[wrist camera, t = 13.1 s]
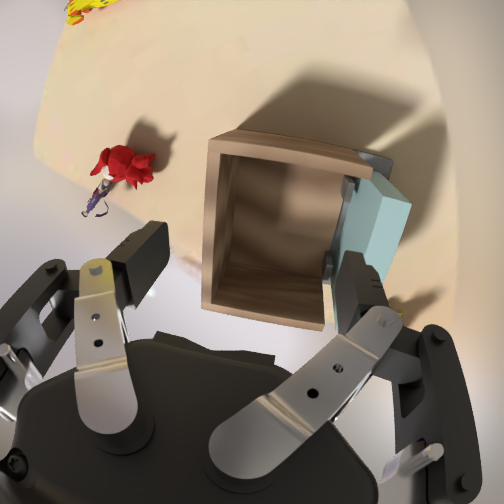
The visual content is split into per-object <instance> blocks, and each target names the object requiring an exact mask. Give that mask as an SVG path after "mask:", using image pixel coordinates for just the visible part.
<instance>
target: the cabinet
mask: <svg viewBox="0 0 504 504" xmlns="http://www.w3.org/2000/svg"><path fill="white" fill-rule="evenodd" d="M392 164H393V161H392V160H390V159H387V158H383V157H380V156H376V155H372V154H369V153H365V152H361V151H357V150H353V149H348V148H344V147H340V146H335V145H330V144H326V143H321V142H316V141H311V140H305V139H300V138H294V137H288V136H282V135H276V134H269V133H262V132H255V131H247V130H238V129H235V130H232V131H229V132H226V133H224V134H221V135H219V136H216V137H214V138H211V139H209V143H208V156H207V169H206V185H205V202H204V222H203V248H202V291H201V309H204V310H209V311H213V312H218V313H223V314H227V315H232V316H237V317H242V318H247V319H252V320H257V321H262V322H268V323H273V324H279V325H284V326H290V327H296V328H303V329H309V330H315V331H322V330H323V328H324V325H325V320H324V302H323V287H322V283H323V284H329V285H331V280H330V273H331V270H332V267H333V260H334V257H335V254H336V250H337V247H338V244H339V240H340V237H341V233H342V229H343V226H344V222H345V218H346V215H347V211H348V207H349V203H350V202H351V198H352V194H353V190H354V186H355V179H356V177H358V178H363V179H367V180H370V179H371V175H372V171H376V172H379V173H381V174H382V175H383V176H384V177H385V178H386V179H387V180H389V176H390V172H391V168H392Z"/></svg>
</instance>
